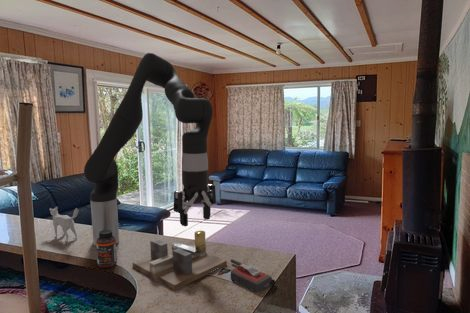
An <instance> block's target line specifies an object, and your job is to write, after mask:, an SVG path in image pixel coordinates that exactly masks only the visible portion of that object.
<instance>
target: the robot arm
mask: <svg viewBox="0 0 470 313" xmlns="http://www.w3.org/2000/svg"><path fill="white" fill-rule="evenodd" d="M146 82H149V83H150V84H153V85H155V86H158V87H161V88H163V89H164V94H165V98H167V99H168V101H169V103H171V104H172V106H173V109H174V115H175V117H176V119H177V121H179V122H180V123H182V124H196V125H195V128H194V129H193V130H190V131H187V132H184V133H183V134H182V138H181V147H182V149H181V150H182V154H181V155H182V156H181V181H182V185H183V189H182V190H180V191H178V190H174V192H173V212H176V213H178V214H179V223H180V225H181V226H182V227H187V226H189V219H188V217H189V216H188V212H189V210H190V208H191V207H193V205H195V204H197V203H202V205H203V207H202V216H203V217H202V218H203V219H204V220H206V221H207V220H210V219H211V215H212V214H211V207H212V205H215V204H216V203H217V198H216V197H217V196H216V186H215V184H213V183H212V184H211V183H209V159H208V135H209V130H210V127H211V126H210V125H211V122H212V119H213V114H214V110H213V105H212V103H211V101H210V100H209V99H208V98H205V97H199V98H197V97H195V94H194V92H193V90H192V89H190V87H188V86H187V85H186V83H184V82H183V81H182V79H181V78H180V77H179V75H178V73H177V71H176V69H175V67H174V66H173V64H172V63H170V61H169V60H166V59H164V58H162V57H161V56H158V55H157V54H155V53H153V52H147V53H146V54H144V55H143V57H142V58H141V59H140V62H139V63H138V65H137V68H136V70H135V72H134V74H133V77H132V79H131V81H130V83H129V86H128V88H127V90H126V92H125V94H124V96H123V98H122V100H121V102H120V104H119V106H118V107H117V109H116V110H115V112H114V114H113V116H112V118H111V120H110V122H109V124H108V126H107V128H106V130H105V132H104V134H103V135H102V137H101V140H100V142H99V143H98V145H97V147H96V148H95V149H94V151H93V152H92V153H91V155H90V157H89V158H88V160H87V161H86V162H85V164H84V168H83V174H84V177H85V179H86V180H87V181H88V183H92V184H95V185H94V188H93V189H92V190H91V192H90V194H89V198H90V199H89V200H90V209H91V210H90V213H91V228H92V230H91V231H92V242H93V246H94V247H97V246H96V241H97V239H98V238H99V232H100V231H102V230H112V236H114V237H115V239H116V245H117V244H118V243H120V235H119V234H120V232H119V229H120V228H119V215H118V201H117V200H118V199H117V193H118V189H119V168H118V164H117V162H116V160H115V158H116V156H117V155H118V153H119V152H120V151H121V150H122V148H124V147H125V145H127V144H128V143H129V141H130V140H132V138H133V136H134V135H135V134H136V132H137V130H138V128H139V126H140V124H141V123H142V120H143V118H144V117H143V115H144V114H143V113H144V112H143V102H142V101H143V100H142V93H143V89H144V87H145V84H146Z"/></svg>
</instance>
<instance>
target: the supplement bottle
mask: <svg viewBox="0 0 470 313" xmlns="http://www.w3.org/2000/svg"><path fill="white" fill-rule="evenodd" d="M95 247H96V256H97V257H96V261H97V263H96V264H97V266H98V267H99V268H105V269H107V268H111V267H113V266H115V265H116V264H117V244H116V239H115V237H114V236H112V230H102V231H100V232H99V238H98V239H97V241H96V246H95Z"/></svg>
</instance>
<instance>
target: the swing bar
mask: <svg viewBox="0 0 470 313" xmlns="http://www.w3.org/2000/svg"><path fill="white" fill-rule="evenodd" d="M184 244H185V243H181V242H173V243H171V248H172V249H173V250H176V249H178V248H180V249H182V250H185V251H187V252H189V253H192V255H194V256H197V257H202V256H204V255H206V253H207V244H206V231H204V230H196V231H194V245H195V248H194V247H190V245H188V244H186V245H184ZM187 245H188V246H187Z"/></svg>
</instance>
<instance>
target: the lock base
mask: <svg viewBox="0 0 470 313" xmlns="http://www.w3.org/2000/svg"><path fill="white" fill-rule="evenodd" d="M149 242H150V243H149V244H150V245H149V246H150V255H149V256H147V257H143V258H141V259H138V260H135V261H133V262H132V268H134V269H136V270H137V271H139V272H141V273H143V274H145V275H147V276H148V277H150V278H152V279H154V280H156V281H158V282H159V283H161V284H163V285H165V287H166V286H167V287H168V288H170V289H172V290H174V291H176V290H179V289H180V288H182V287H185V286H187V285H189V284H190V283H192V282H195V281H197V280H199V279H201V278H203V277H205V276H207V275H209V274H211V273H212V272H211V271H213V270H215V269H217V268H220V269H222V268H223V267H225V266H226V267H227V265H228V264H227V262H228V261H227V259H225V258H224V259H223V258H221V257H219V256H216V255H213V254H211V253H209V252H206V255H204V256H202V257H197V256H194V255H192V253H189V252H187V251H185V250H182V249H180V248H178V249H176V250H173V249H172V247H170V248H168V243H167V242H165V241H162V240H160V239H158V238H154V239H151V240H149ZM183 244H184V245H187V246H190V245H188V244H185V243H183ZM190 247H194V248H195V244H193V245H191V246H190ZM221 267H222V268H221ZM215 271H216V270H215ZM210 272H211V273H210ZM213 272H214V271H213ZM208 273H209V274H208Z"/></svg>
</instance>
